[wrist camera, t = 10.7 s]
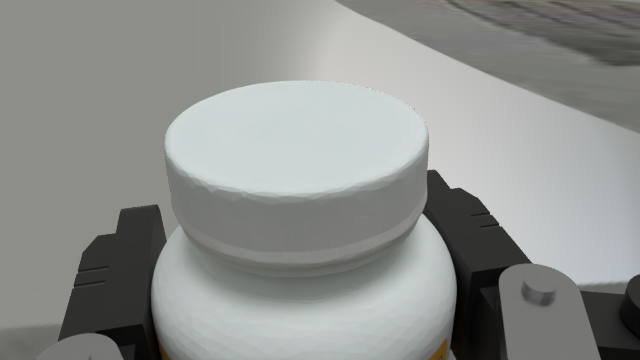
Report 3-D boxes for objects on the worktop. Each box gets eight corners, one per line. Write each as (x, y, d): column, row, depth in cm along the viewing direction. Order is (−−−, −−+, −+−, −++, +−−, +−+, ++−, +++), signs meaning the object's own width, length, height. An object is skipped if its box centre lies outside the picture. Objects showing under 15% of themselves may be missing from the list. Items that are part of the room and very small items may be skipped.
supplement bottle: (398, 672, 10) (442, 272, 5) (155, 563, 12) (18, 184, 7) (446, 426, 14) (495, 81, 10) (263, 372, 16) (225, 55, 11)
